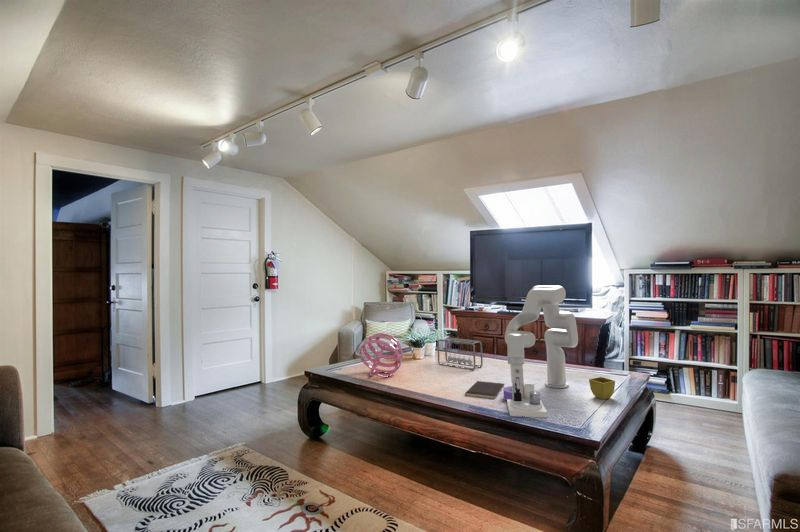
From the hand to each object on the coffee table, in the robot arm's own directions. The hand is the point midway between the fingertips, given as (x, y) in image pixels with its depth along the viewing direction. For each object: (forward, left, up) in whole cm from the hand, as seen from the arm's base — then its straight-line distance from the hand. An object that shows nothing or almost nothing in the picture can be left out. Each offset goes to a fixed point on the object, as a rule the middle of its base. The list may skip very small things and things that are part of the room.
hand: (517, 398), depth 189 cm
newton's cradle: (-85, -29, -6) cm, 90 cm away
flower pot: (-23, +44, -6) cm, 50 cm away
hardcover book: (-29, -14, -6) cm, 33 cm away
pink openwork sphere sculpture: (-58, -77, -5) cm, 97 cm away
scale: (-1, +4, -5) cm, 7 cm away
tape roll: (-17, +1, -6) cm, 18 cm away
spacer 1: (0, 0, 0) cm, 0 cm away
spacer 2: (0, +8, -2) cm, 8 cm away
